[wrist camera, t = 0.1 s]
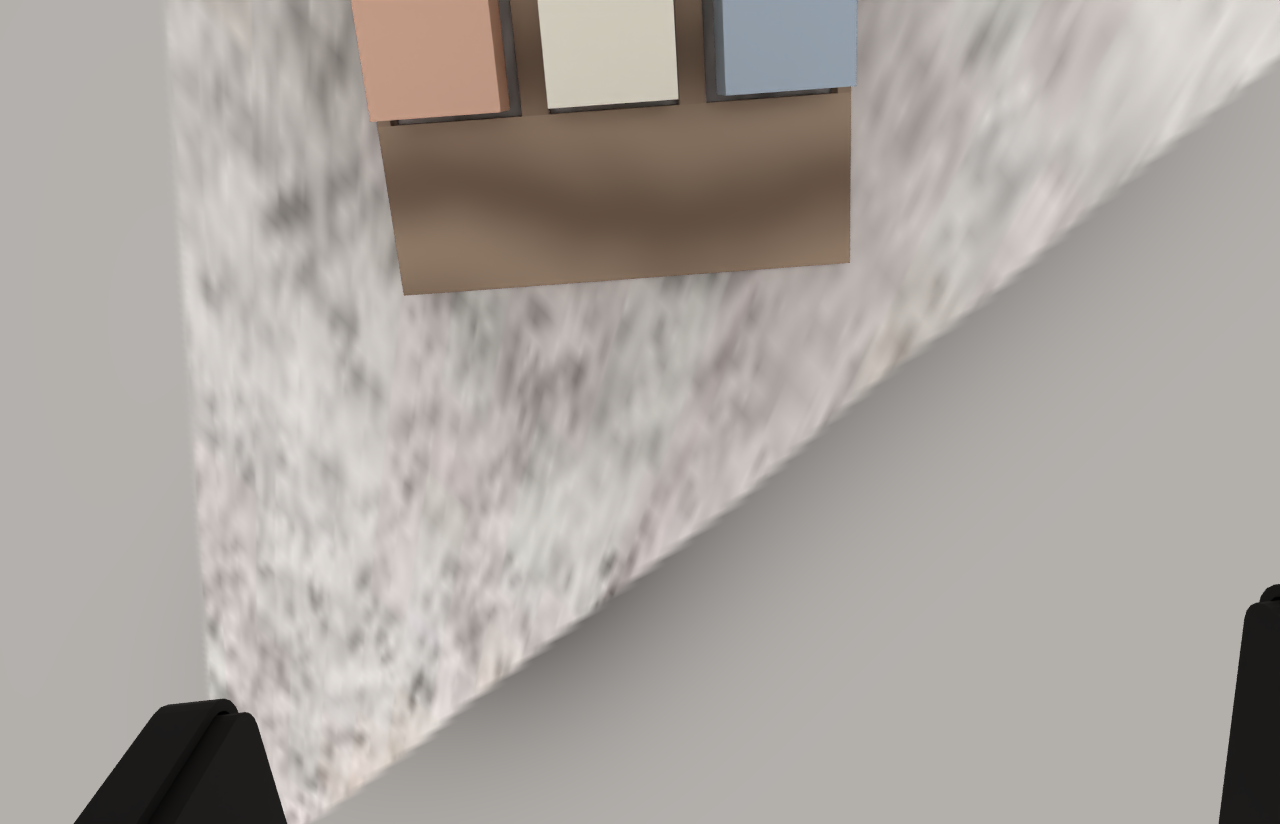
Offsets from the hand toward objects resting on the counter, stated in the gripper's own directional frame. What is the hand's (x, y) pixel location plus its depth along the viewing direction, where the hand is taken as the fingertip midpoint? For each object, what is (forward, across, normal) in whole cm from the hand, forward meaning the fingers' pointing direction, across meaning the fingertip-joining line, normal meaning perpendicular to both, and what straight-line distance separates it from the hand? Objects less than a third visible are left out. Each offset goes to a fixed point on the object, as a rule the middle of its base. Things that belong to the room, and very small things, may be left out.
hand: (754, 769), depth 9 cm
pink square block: (+29, +7, -8) cm, 31 cm away
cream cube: (+29, +1, -8) cm, 30 cm away
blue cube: (+29, -5, -8) cm, 30 cm away
